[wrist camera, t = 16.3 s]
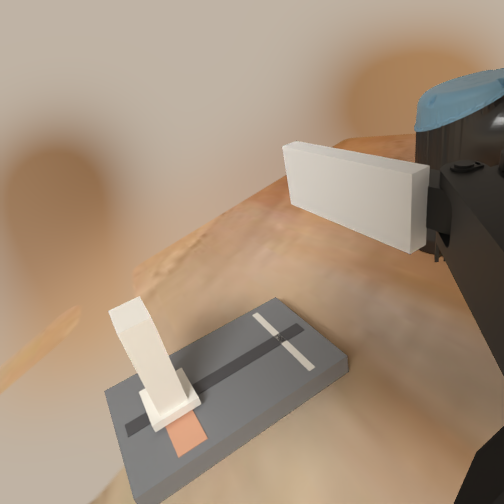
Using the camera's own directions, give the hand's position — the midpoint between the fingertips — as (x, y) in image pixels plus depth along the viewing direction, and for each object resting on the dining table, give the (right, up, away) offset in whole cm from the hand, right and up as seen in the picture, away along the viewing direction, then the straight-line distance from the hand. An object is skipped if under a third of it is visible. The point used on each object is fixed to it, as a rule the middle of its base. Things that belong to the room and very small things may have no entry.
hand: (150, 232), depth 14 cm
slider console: (+1, -16, +28) cm, 32 cm away
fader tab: (-5, -16, +24) cm, 30 cm away
